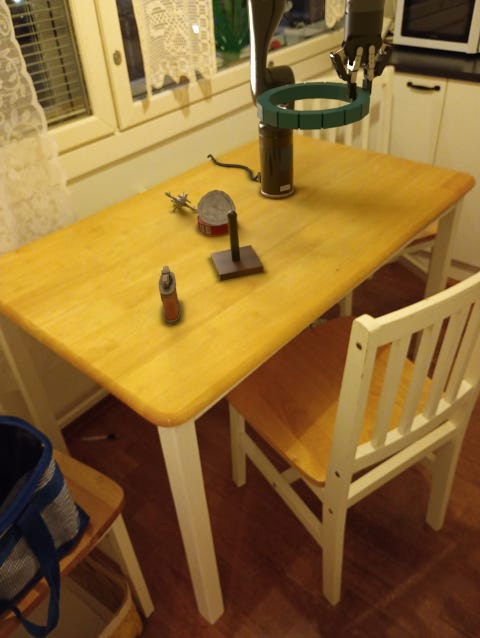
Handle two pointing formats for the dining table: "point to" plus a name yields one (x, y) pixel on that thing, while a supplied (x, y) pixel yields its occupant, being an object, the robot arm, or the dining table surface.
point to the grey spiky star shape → (180, 201)
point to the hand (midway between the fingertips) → (358, 99)
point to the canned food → (214, 213)
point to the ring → (312, 118)
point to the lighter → (169, 296)
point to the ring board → (238, 266)
